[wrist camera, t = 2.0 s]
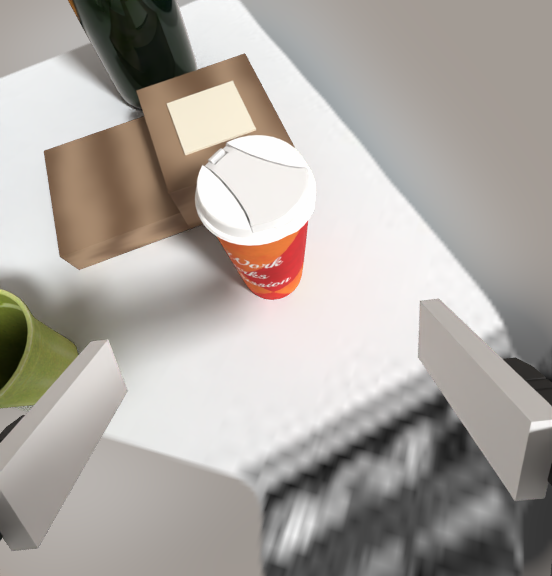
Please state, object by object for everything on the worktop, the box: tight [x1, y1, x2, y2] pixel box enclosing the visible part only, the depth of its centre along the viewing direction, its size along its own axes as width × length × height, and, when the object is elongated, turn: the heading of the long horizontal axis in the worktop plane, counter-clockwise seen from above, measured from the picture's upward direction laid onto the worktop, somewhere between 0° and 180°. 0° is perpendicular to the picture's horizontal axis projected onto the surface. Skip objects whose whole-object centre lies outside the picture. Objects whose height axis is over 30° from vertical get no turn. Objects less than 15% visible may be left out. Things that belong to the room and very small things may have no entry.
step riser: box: [44, 54, 295, 270], centre depth 36 cm, size 24×14×6 cm, turn 111°
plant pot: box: [0, 289, 78, 408], centre depth 28 cm, size 9×9×9 cm
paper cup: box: [195, 135, 316, 300], centre depth 27 cm, size 8×8×14 cm
